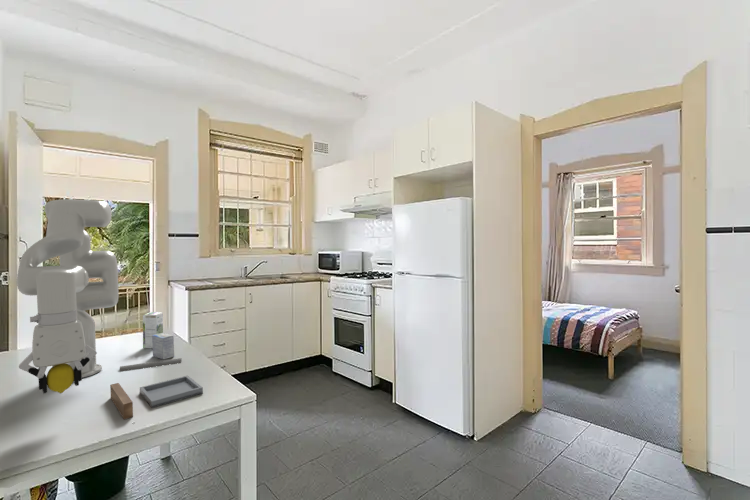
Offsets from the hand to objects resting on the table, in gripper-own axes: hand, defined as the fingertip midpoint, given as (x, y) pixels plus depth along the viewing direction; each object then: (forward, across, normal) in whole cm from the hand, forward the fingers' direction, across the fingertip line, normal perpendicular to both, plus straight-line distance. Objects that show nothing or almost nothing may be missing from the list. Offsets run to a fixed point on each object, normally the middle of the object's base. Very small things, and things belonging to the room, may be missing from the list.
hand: (60, 387), depth 95 cm
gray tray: (+9, +25, -1) cm, 27 cm away
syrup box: (+11, +35, +57) cm, 68 cm away
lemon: (+2, 0, 0) cm, 2 cm away
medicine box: (+11, +34, +39) cm, 53 cm away
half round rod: (+11, +28, +31) cm, 43 cm away
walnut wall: (+9, +12, -1) cm, 16 cm away
